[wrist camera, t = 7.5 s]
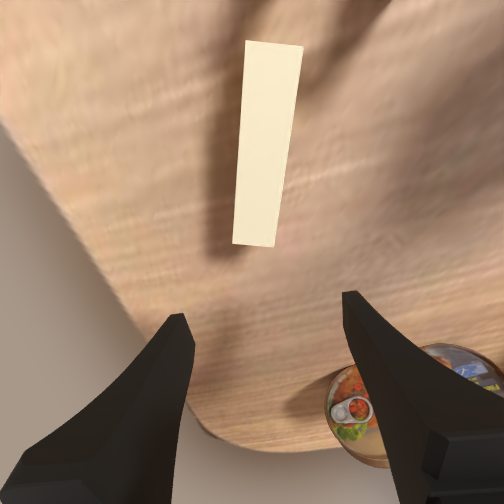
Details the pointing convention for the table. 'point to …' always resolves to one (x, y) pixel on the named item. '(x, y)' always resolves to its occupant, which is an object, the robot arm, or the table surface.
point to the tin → (361, 411)
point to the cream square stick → (264, 138)
